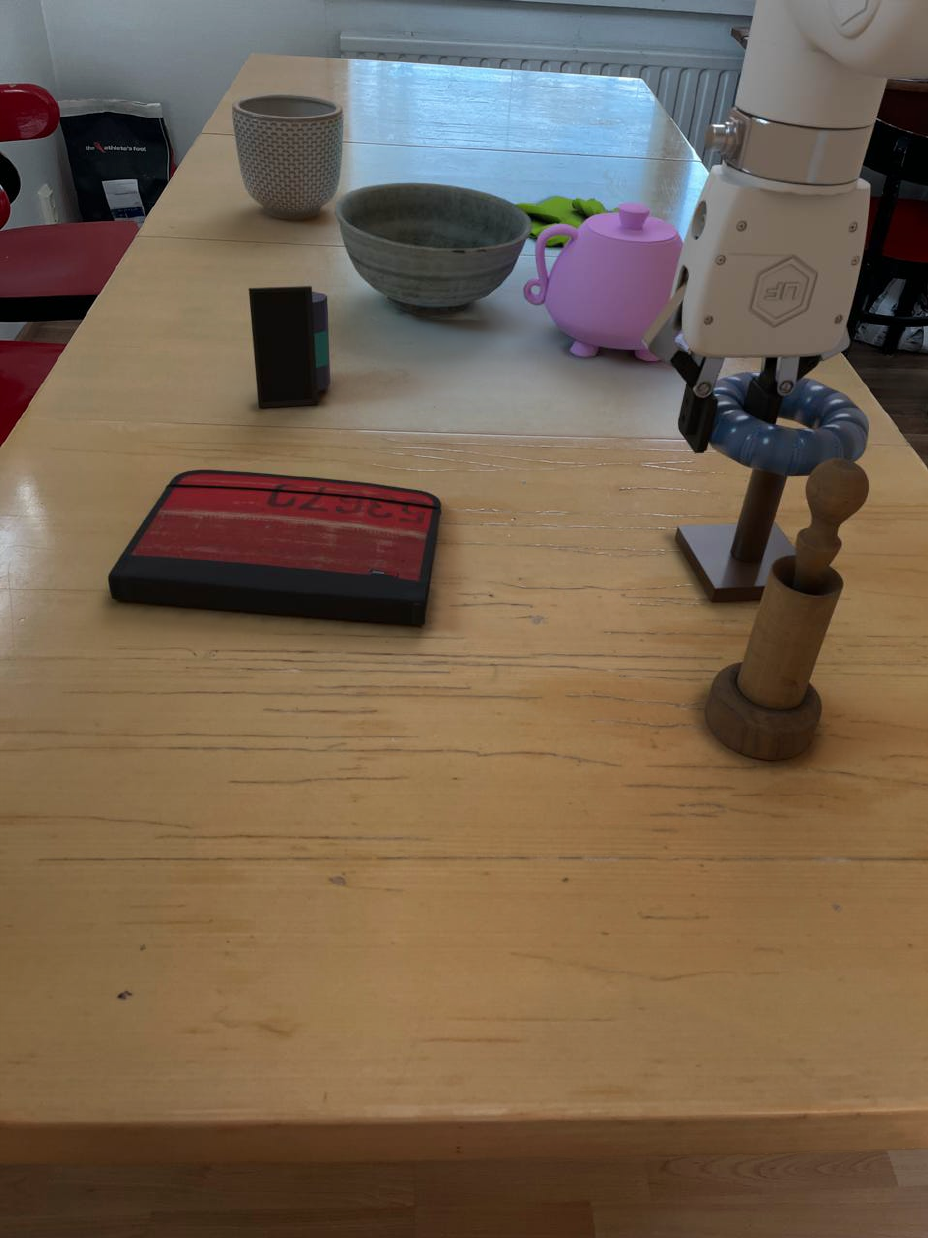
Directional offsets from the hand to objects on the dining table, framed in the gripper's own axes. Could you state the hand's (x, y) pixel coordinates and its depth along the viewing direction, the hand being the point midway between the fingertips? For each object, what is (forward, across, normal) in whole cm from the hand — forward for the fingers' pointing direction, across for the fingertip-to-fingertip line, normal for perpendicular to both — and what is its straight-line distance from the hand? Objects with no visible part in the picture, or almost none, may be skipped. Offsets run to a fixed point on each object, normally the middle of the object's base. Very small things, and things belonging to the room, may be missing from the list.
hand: (722, 439), depth 67 cm
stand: (+11, +4, 0) cm, 11 cm away
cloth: (+11, +12, +81) cm, 83 cm away
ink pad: (+11, -29, +5) cm, 31 cm away
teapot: (+11, +7, +41) cm, 43 cm away
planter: (+11, -26, +84) cm, 88 cm away
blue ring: (-1, +4, 0) cm, 4 cm away
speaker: (+11, -28, +31) cm, 43 cm away
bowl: (+11, -12, +52) cm, 54 cm away
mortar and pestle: (+11, -1, -16) cm, 19 cm away
